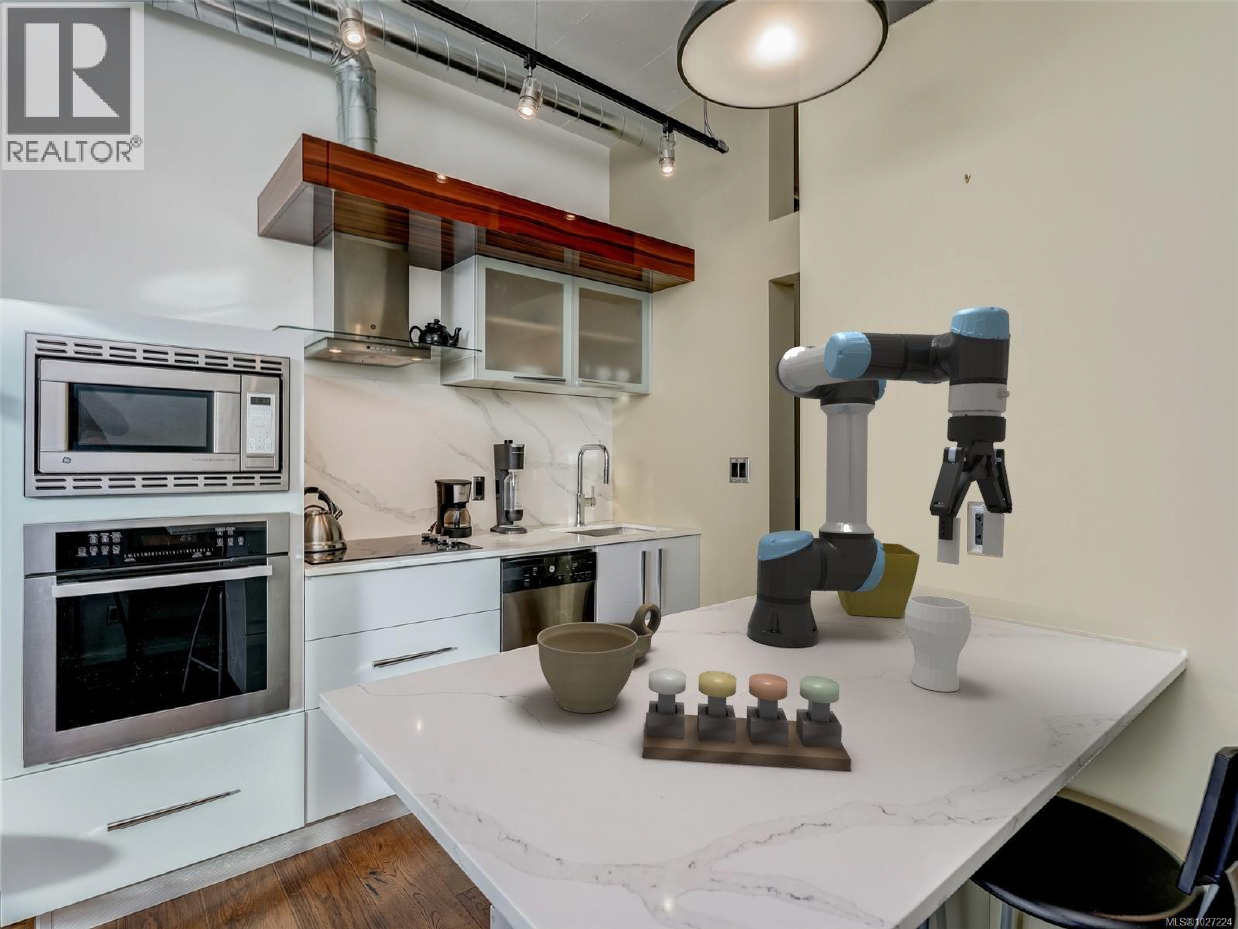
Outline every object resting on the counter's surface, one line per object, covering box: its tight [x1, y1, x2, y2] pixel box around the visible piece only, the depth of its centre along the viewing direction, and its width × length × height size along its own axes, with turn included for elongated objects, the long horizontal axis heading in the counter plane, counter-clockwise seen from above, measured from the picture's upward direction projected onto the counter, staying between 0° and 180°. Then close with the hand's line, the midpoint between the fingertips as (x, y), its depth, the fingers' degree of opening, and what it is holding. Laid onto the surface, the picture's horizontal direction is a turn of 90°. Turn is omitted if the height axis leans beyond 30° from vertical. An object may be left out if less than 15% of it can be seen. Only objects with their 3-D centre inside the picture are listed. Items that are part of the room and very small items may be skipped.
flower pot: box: [836, 542, 920, 619], centre depth 166 cm, size 19×19×17 cm
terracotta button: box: [748, 673, 788, 719], centre depth 89 cm, size 5×5×5 cm
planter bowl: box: [536, 621, 638, 714], centre depth 103 cm, size 16×16×11 cm
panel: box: [642, 700, 852, 771], centre depth 89 cm, size 27×11×4 cm, turn 85°
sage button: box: [799, 675, 841, 722], centre depth 88 cm, size 5×5×5 cm
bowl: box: [607, 602, 662, 660], centre depth 125 cm, size 14×18×10 cm
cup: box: [904, 594, 972, 693], centre depth 114 cm, size 11×11×15 cm
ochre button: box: [698, 670, 737, 716], centre depth 89 cm, size 5×5×5 cm
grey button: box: [648, 667, 687, 713], centre depth 90 cm, size 5×5×5 cm
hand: (971, 559), depth 94 cm, fingers open, 13 cm apart
